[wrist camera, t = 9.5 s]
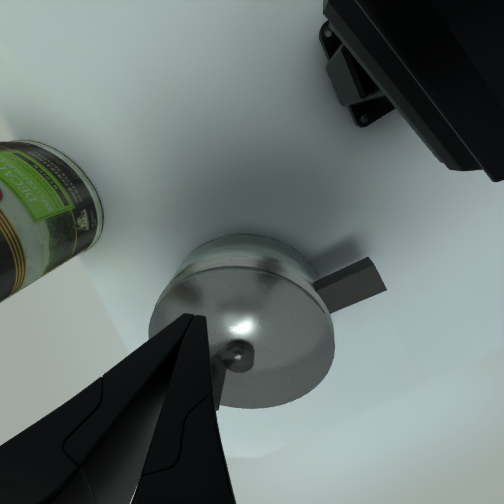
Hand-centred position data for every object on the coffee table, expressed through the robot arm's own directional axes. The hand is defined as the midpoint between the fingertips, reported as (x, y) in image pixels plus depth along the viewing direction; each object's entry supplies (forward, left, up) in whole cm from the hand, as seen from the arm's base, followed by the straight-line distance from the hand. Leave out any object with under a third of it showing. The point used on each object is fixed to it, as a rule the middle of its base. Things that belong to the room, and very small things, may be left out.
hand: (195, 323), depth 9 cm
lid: (+7, +8, -8) cm, 13 cm away
